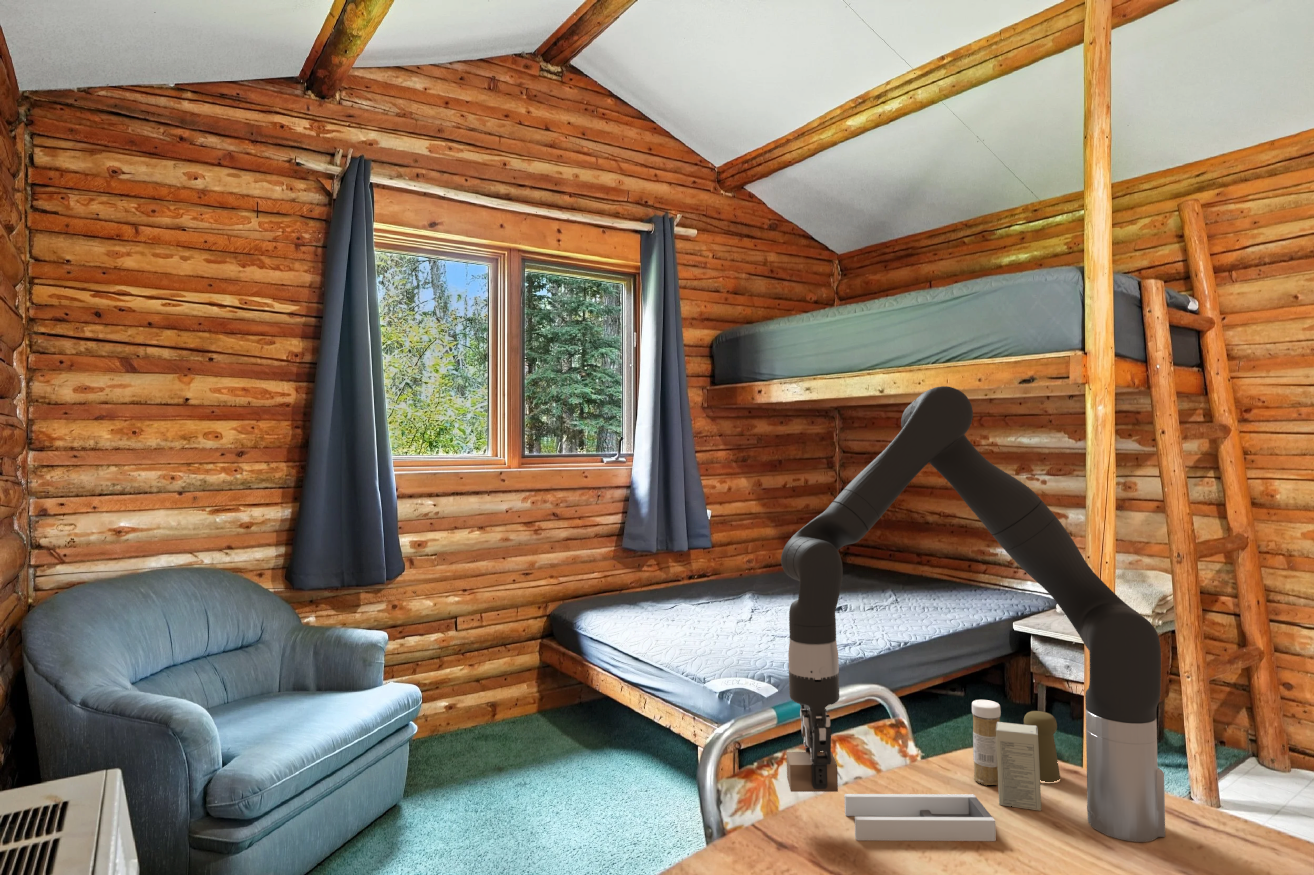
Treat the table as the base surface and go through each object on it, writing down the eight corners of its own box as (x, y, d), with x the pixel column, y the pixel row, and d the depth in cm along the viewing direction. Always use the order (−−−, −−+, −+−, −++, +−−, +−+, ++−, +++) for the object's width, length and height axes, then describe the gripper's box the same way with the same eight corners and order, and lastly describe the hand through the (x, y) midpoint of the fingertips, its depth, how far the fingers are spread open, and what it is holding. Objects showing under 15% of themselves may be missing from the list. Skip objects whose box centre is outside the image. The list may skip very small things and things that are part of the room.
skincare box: (1040, 800, 126) (1039, 725, 127) (1041, 812, 122) (1040, 734, 123) (997, 793, 129) (996, 719, 129) (996, 804, 125) (995, 728, 125)
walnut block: (832, 777, 121) (831, 751, 121) (837, 791, 116) (837, 764, 116) (787, 777, 122) (786, 751, 122) (790, 791, 117) (790, 764, 117)
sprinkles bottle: (1006, 781, 134) (1004, 702, 134) (995, 789, 131) (993, 709, 131) (979, 773, 137) (978, 696, 137) (968, 781, 134) (967, 703, 134)
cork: (1065, 785, 132) (1064, 720, 132) (1027, 782, 133) (1025, 718, 133) (1054, 770, 138) (1053, 708, 138) (1018, 768, 139) (1017, 706, 139)
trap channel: (974, 813, 122) (973, 794, 122) (995, 841, 114) (995, 820, 114) (844, 812, 123) (844, 793, 123) (856, 840, 115) (856, 819, 115)
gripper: (783, 656, 126) (785, 761, 126) (795, 683, 112) (798, 801, 112) (829, 655, 126) (832, 760, 126) (848, 682, 112) (851, 801, 112)
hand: (816, 779), depth 119 cm, fingers closed on walnut block, 5 cm apart
